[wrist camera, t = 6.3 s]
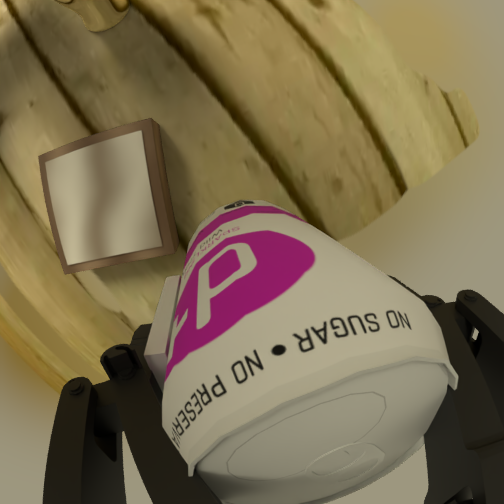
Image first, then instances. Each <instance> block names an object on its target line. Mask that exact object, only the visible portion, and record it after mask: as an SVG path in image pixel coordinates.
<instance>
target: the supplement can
mask: <svg viewBox="0 0 504 504" xmlns="http://www.w3.org/2000/svg"><path fill="white" fill-rule="evenodd" d="M457 383H458V375H457V373H456V372H455V370H454V369H453V367H452V365H451V364H450V361H449V357H448V353H447V349H446V345H445V341H444V338H443V334H442V331H441V327H440V326H439V324H438V323H437V321H436V320H435V318H434V316H433V315H432V313H431V312H430V310H429V309H428V307H427V306H426V304H425V303H424V302H423V301H422V300H421V299H419V298H418V297H417V296H415V295H414V294H413V293H411V292H410V291H408V290H407V289H406V288H404V287H403V286H401V285H400V284H399V283H397V282H396V281H394V280H393V279H392V278H390V277H389V276H387V275H386V274H384V273H383V272H382V271H380V270H379V269H377V268H376V267H374V266H373V265H371V264H370V263H368V262H367V261H365V260H364V259H362V258H361V257H359V256H358V255H357V254H355V253H354V252H352V251H350V250H349V249H347V248H346V247H344V246H343V245H341V244H340V243H338V242H337V241H335V240H334V239H332V238H331V237H329V236H327V235H326V234H324V233H323V232H321V231H320V230H318V229H316V228H315V227H313V226H312V225H310V224H309V223H307V222H305V221H304V220H302V219H300V218H299V217H297V216H296V215H294V214H292V213H291V212H289V211H287V210H286V209H284V208H282V207H279V206H277V205H274V204H272V203H269V202H267V201H264V200H239V201H236V202H233V203H230V204H227V205H225V206H222V207H219V208H217V209H216V210H215V211H214V212H213V213H211V214H210V215H209V216H208V217H207V218H205V219H204V220H203V221H202V222H201V223H200V224H199V226H198V228H197V229H196V231H195V233H194V235H193V236H192V238H191V240H190V242H189V246H188V250H187V255H186V260H185V265H184V269H183V274H182V279H181V284H180V290H179V295H178V300H177V306H176V311H175V317H174V323H173V329H172V335H171V341H170V348H169V354H168V361H167V368H166V375H165V383H164V391H163V400H162V427H163V428H164V430H165V431H166V433H167V435H168V436H169V438H170V439H171V441H172V442H173V444H174V445H175V447H176V448H177V450H178V451H179V453H180V454H181V456H182V457H183V458H184V460H185V461H186V463H187V464H188V476H193V472H194V468H195V469H196V471H197V472H198V474H199V475H200V476H201V478H202V479H203V480H204V481H205V483H206V484H207V485H208V486H209V488H210V489H211V490H212V491H213V493H214V494H215V495H216V496H217V497H218V498H219V499H220V501H221V502H222V503H223V504H324V503H327V502H330V501H333V500H336V499H338V498H341V497H343V496H346V495H348V494H350V493H353V492H355V491H357V490H360V489H362V488H364V487H366V486H367V485H369V484H371V483H373V482H375V481H376V480H378V479H380V478H381V477H383V476H385V475H386V474H388V473H390V472H391V471H392V470H394V469H395V468H397V467H398V466H399V465H400V464H402V463H403V462H404V461H406V460H407V459H408V458H409V457H410V456H411V455H413V454H414V453H415V452H416V451H418V450H419V449H420V448H421V447H422V446H423V444H424V434H425V433H426V431H427V430H428V428H429V426H430V424H431V422H432V421H433V419H434V417H435V415H436V413H437V411H438V409H439V407H440V405H441V403H442V401H443V399H444V397H445V395H446V393H447V385H448V384H449V385H450V386H451V387H452V388H453V389H454V390H455V389H457Z"/></svg>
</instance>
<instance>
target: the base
mask: <svg viewBox="0 0 504 504" xmlns="http://www.w3.org/2000/svg"><path fill="white" fill-rule="evenodd" d="M38 157H39V165H40V172H41V179H42V185H43V191H44V197H45V202H46V207H47V212H48V216H49V221H50V225H51V229H52V233H53V237H54V241H55V244H56V248H57V251H58V255H59V258H60V262H61V265H62V268H63V271H64V274H70V273H75V272H80V271H85V270H90V269H95V268H100V267H106V266H111V265H116V264H121V263H127V262H132V261H137V260H142V259H148V258H153V257H158V256H164V255H169V254H175V252H176V250H177V247H178V245H179V238H178V233H177V229H176V224H175V219H174V214H173V209H172V203H171V198H170V192H169V187H168V181H167V175H166V169H165V163H164V157H163V150H162V143H161V136H160V129H159V124H158V123H157V122H155V121H154V120H153V119H152V118H149V119H145V120H141V121H137V122H134V123H130V124H126V125H123V126H119V127H116V128H113V129H110V130H106V131H103V132H100V133H97V134H94V135H91V136H88V137H85V138H83V139H80V140H77V141H74V142H72V143H69V144H67V145H64V146H61V147H59V148H56V149H54V150H52V151H49V152H47V153H45V154H42V155H40V156H38Z"/></svg>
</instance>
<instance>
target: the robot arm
mask: <svg viewBox="0 0 504 504" xmlns="http://www.w3.org/2000/svg"><path fill="white" fill-rule="evenodd" d="M387 276H389V275H387ZM389 277H390V278H392V279H393V280H394V281H396V282H397V283H399V284H400V285H401V286H403V287H404V288H406V289H407V290H408V291H410V292H411V293H413V294H414V295H415V296H417V297H418V298H419V299H421V300H422V301H423V302H424V303H425V304H426V306H427V307H428V309H429V310H430V312H431V313H432V315H433V316H434V318H435V320H436V321H437V323H438V324H439V326H440V327H441V331H442V334H443V338H444V341H445V345H446V349H447V353H448V357H449V361H450V364H451V365H452V367H453V369H454V370H455V372H456V373H457V375H458V383H457V389H455V390H454V389H453V388H452V387H451V386H450V385H449V384H448V385H447V393H446V395H445V397H444V399H443V401H442V403H441V405H440V407H439V409H438V411H437V413H436V415H435V417H434V419H433V421H432V422H431V424H430V426H429V428H428V430H427V431H426V433H425V434H424V443H425V450H426V459H427V469H428V483H429V486H428V492H427V495H426V497H425V500H424V504H504V314H503V313H502V312H500V311H499V310H498V309H497V308H496V307H495V306H493V305H492V304H491V303H490V302H489V301H488V300H486V299H485V298H484V297H483V296H482V295H480V294H479V293H477V292H475V291H473V290H462V291H460V292H459V293H458V294H457V298H456V302H450V303H445V302H444V301H443V300H442V299H441V298H439V297H437V296H433V295H425V296H420V295H419V294H417V293H416V292H414V291H413V290H412V289H410V288H409V287H406V285H405V284H403V283H401V282H400V281H399V280H397V279H396V278H395V277H392V276H389ZM180 284H181V276H180V275H176V276H171V277H166V280H165V283H164V287H163V290H162V293H161V296H160V300H159V303H158V306H157V309H156V313H155V316H154V320H153V323H151V324H144V325H140V326H139V328H138V329H137V330H136V331H135V332H134V335H133V337H132V340H131V343H130V345H128V344H119V345H115V346H113V347H111V348H109V349H107V350H106V351H105V352H104V353H103V354H102V356H101V359H100V362H101V364H102V366H103V368H104V370H105V371H106V373H107V375H108V377H109V379H110V380H108V381H106V382H102V383H99V384H96V385H92V383H91V382H90V380H89V379H88V378H85V377H77V378H74V379H71V380H70V381H68V382H67V383H66V384H65V385H64V387H63V389H62V392H61V395H60V399H59V403H58V407H57V411H56V415H55V420H54V425H53V429H52V434H51V439H50V446H49V451H48V457H47V464H46V471H45V481H44V491H43V492H44V493H43V504H126V494H125V484H124V471H123V453H122V452H123V451H122V432H123V431H124V432H125V435H126V438H127V441H128V444H129V447H130V450H131V453H132V455H133V458H134V461H135V463H136V466H137V468H138V470H139V473H140V476H141V478H142V480H143V483H144V485H145V487H146V490H147V492H148V494H149V496H150V498H151V500H152V502H153V504H223V503H222V502H221V501H220V499H219V498H218V497H217V496H216V495H215V494H214V493H213V491H212V490H211V489H210V488H209V486H208V485H207V484H206V483H205V481H204V480H203V479H202V478H201V476H200V475H199V474H198V472H197V471H196V469H195V468H194V472H193V476H188V464H187V463H186V461H185V460H184V458H183V457H182V456H181V454H180V453H179V451H178V450H177V448H176V447H175V445H174V444H173V442H172V441H171V439H170V438H169V436H168V435H167V433H166V431H165V430H164V428H163V427H162V400H163V391H164V383H165V375H166V368H167V361H168V354H169V348H170V341H171V335H172V329H173V323H174V317H175V311H176V306H177V300H178V295H179V290H180ZM475 328H476V329H477V330H478V331H479V333H478V336H477V339H476V340H474V339H473V338H472V336H473V333H474V330H475ZM472 498H473V499H472Z"/></svg>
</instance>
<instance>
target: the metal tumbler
mask: <svg viewBox="0 0 504 504" xmlns="http://www.w3.org/2000/svg"><path fill="white" fill-rule="evenodd" d="M54 1H56V2H57V3H59V4H61V5H63V6H64V7H66V8H68V9H70V10H72V11H74V12H75V13H77V14H78V15H79V16H80V17H81V18H82V20H83V22H84V25H85V27H86V28H87V29H88V30H90V31H93V32H100V31H104V30H107V29H109V28H111V27H113V26H115V25H116V24H118V23H119V22H120V21H121V20H122V19H123V18H124V17H125V16H126V14H127V12H128V10H129V6H130V4H129V0H54Z"/></svg>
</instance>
